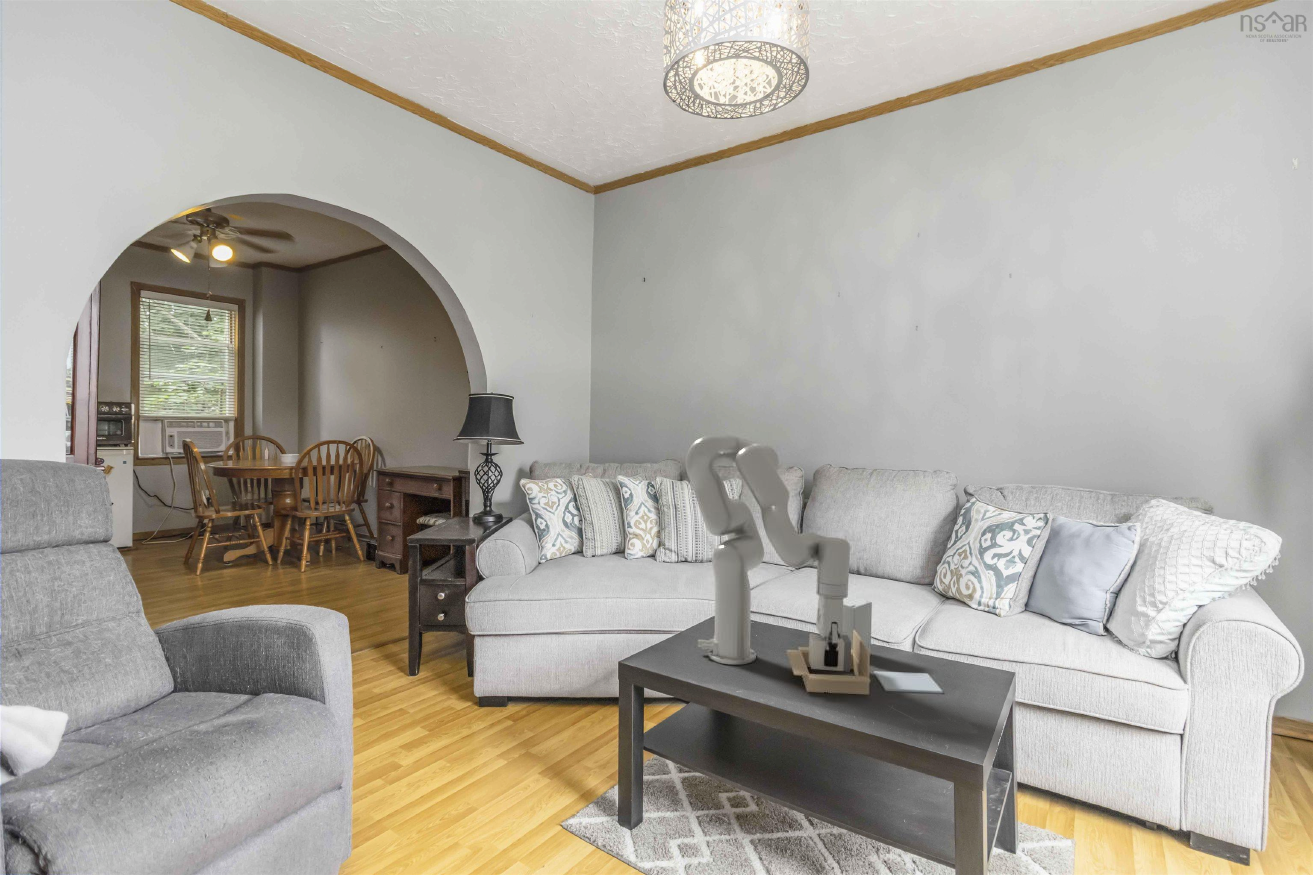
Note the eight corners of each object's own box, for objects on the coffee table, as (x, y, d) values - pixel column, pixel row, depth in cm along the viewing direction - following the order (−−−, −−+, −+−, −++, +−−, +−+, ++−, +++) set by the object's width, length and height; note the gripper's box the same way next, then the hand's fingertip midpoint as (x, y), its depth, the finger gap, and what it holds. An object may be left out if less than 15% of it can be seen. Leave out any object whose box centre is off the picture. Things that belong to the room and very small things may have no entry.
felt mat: (885, 690, 155) (885, 688, 155) (874, 673, 166) (874, 671, 166) (942, 693, 154) (942, 691, 154) (927, 675, 165) (927, 673, 165)
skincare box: (853, 649, 184) (854, 596, 184) (872, 655, 179) (873, 600, 179) (835, 655, 179) (835, 601, 178) (854, 662, 174) (855, 606, 174)
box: (811, 668, 160) (812, 639, 160) (808, 660, 165) (809, 632, 165) (850, 671, 159) (851, 642, 159) (845, 663, 164) (847, 634, 164)
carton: (795, 695, 152) (795, 652, 152) (785, 662, 173) (786, 624, 173) (871, 698, 151) (872, 655, 151) (852, 665, 172) (852, 627, 171)
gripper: (811, 579, 170) (808, 648, 171) (822, 597, 153) (818, 674, 154) (841, 580, 170) (837, 650, 170) (855, 599, 153) (851, 676, 153)
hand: (828, 660), depth 162 cm, fingers closed on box, 5 cm apart
